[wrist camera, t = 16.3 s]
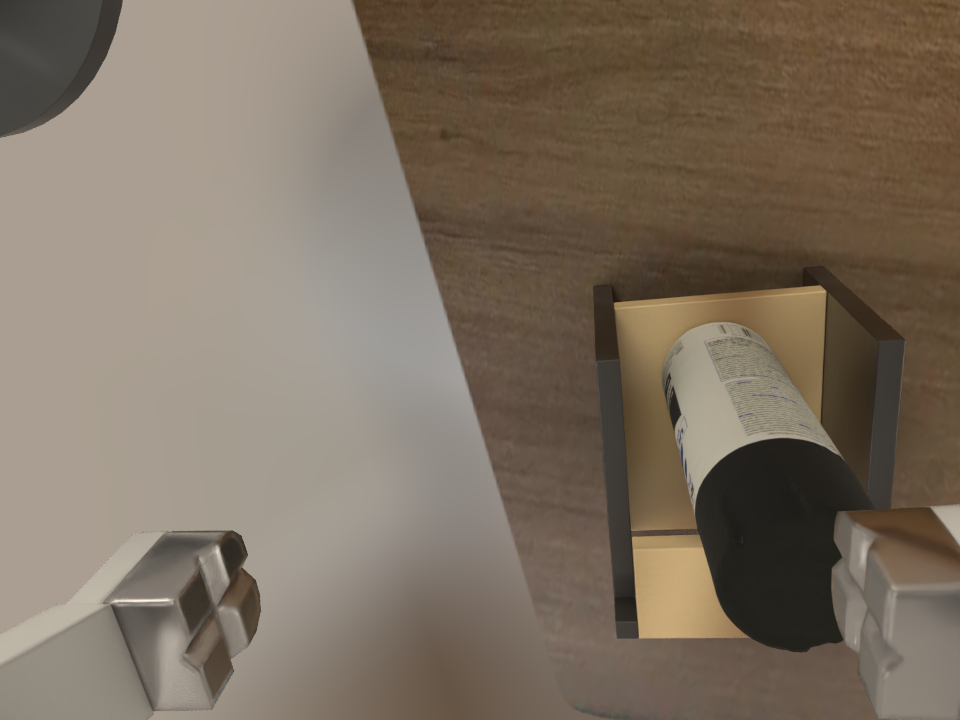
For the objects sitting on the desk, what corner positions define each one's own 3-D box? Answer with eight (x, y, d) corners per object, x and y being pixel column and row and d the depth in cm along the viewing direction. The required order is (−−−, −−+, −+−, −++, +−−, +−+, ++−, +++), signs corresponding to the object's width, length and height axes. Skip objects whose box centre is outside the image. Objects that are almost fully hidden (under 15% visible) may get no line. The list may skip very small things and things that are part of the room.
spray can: (639, 353, 45) (677, 560, 26) (742, 295, 42) (860, 477, 24) (693, 435, 46) (765, 684, 28) (795, 384, 44) (944, 618, 26)
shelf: (609, 491, 54) (616, 639, 41) (593, 285, 49) (596, 377, 35) (814, 483, 52) (896, 637, 38) (823, 265, 46) (924, 355, 32)
